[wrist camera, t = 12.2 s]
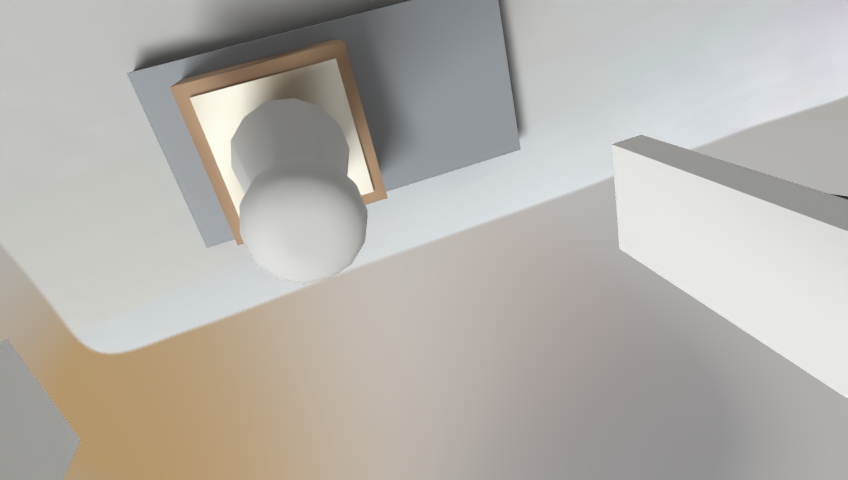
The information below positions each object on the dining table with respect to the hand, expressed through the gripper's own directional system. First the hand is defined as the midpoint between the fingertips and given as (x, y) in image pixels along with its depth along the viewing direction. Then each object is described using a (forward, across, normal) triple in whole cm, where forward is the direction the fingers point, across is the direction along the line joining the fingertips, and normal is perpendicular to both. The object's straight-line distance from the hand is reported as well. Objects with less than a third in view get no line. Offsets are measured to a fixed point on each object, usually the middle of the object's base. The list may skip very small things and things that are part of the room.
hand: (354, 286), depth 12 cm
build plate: (+25, +3, -1) cm, 25 cm away
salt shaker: (+19, -1, -1) cm, 19 cm away
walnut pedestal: (+23, -1, -1) cm, 23 cm away
